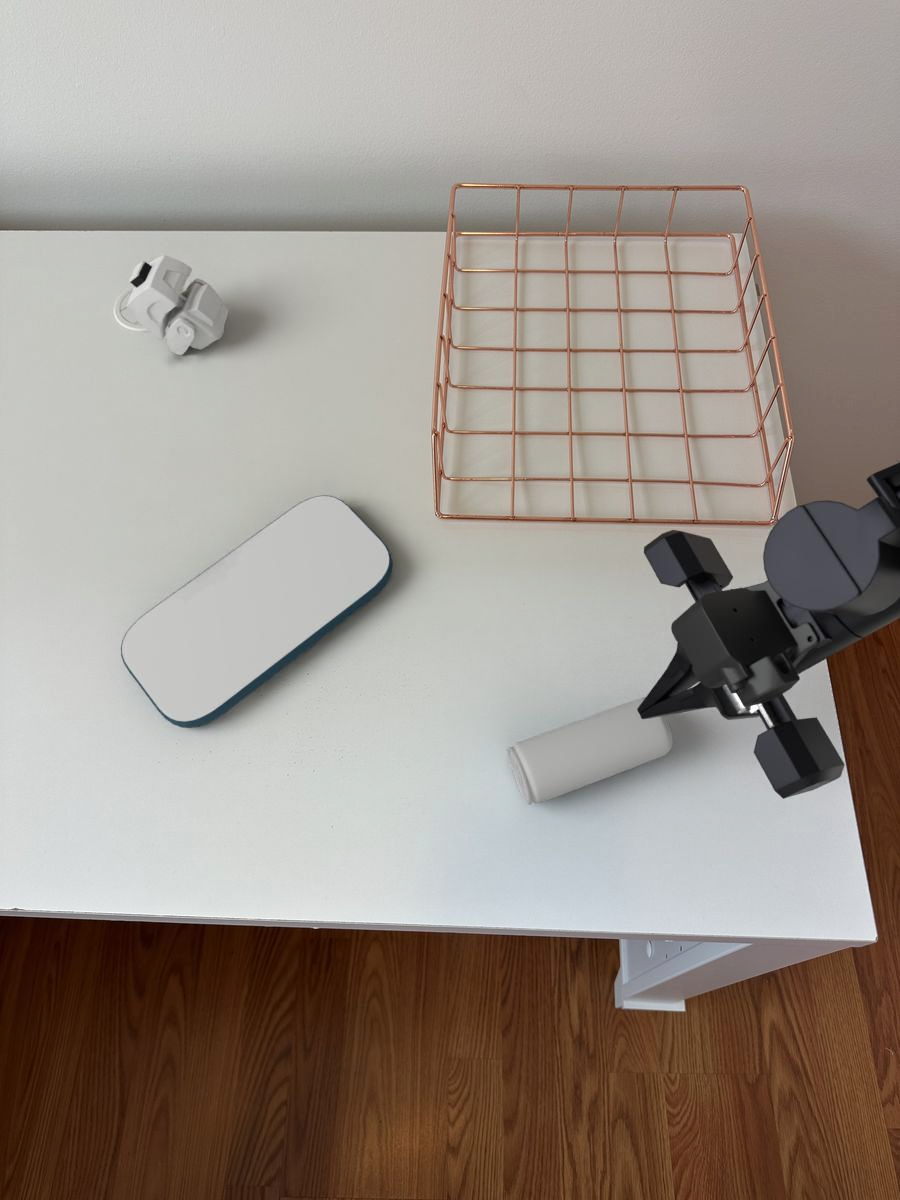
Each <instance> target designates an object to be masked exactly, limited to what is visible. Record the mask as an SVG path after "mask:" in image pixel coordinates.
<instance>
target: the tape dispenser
mask: <svg viewBox="0 0 900 1200" xmlns="http://www.w3.org/2000/svg"><path fill="white" fill-rule="evenodd" d="M192 271H193V269H192V267H191V266H189V265H188V264H187V263H184V262H183V261H181V260H178V259H176V258H174V257H171V256H169V255H167V254H166V255H165V254H164V255H161V256H158V257H156V258H154V259H152V261H150V262H149V263H148V262H146V261H145V260H142V261H141V262H140V263H138V264H136V265H135V267H134V269H133V271H132V273H131V275H130V278H129V280H128V282H129V283H130V284H132V285H133V286H134V287H133V289H132V291H131V294H130V296H129V299H128V301H127V304H126V308H127V310H129V312H130V313H131V314H132V316H133V317H134V318H135V320H136V321H138V323H139V324H140V325H141V326H142V327H143V328H144V329H145V330H146V331H148V332H149V333H150V334H151V335H152V336H154V337H155V338H156V339H158V340H161V341H163V340H164V338H165V336H166V344H167V346H168V348H169V351H170V352H171V353H173V354H176V355H178V356H183V355H184V354H185V353H186V351H188V349H189V348H190V347H191V348H193V349H196V350H204V349H205V348H207V347H208V346H210V345H211V344H213V343H214V342H215V341H218V340H220V339H221V338H222V337H223V335H224V333H225V325H226V324H225V323H226V320H227V318H228V316H229V313H230V312H229V309H228V307H227V305H226V304H225V303H224V302H223V300H222V298H221V296H220V295H219V294H218V293H217V292H216V290H215V289H214V288H213V287H212V285H210V284H209V283H208V282H206V281H205V280H203V279H200V278H195V279H193V280H192V281H191V282H190V283H189V284H188V286H187V287H186V289H185V290H184V291H183V289H184V287H185V284H186V282H187V280H188V277H190V275H191V273H192ZM182 291H183V292H182ZM167 328H168V330H167V332H166V329H167Z"/></svg>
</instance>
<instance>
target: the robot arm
mask: <svg viewBox="0 0 900 1200" xmlns="http://www.w3.org/2000/svg"><path fill="white" fill-rule="evenodd" d="M866 482H867V483H868V485H869V486H870V487H871V489H872V491H873V492H874V493H875V495H876V496H877V497H876V498H873V499H872V500H870V501H869V502H868V503H866V504H864V505H863V506H862V507H860V508H855V507H853V506H851V505H848V504H846V503H844V502H841V501H834V500H827V499H826V500H816V501H815V500H814V501H812V502H808V503H805V504H802V505H796V506H794V507H793V508H791V509H790V510H788V511H787V512H786V513H784V515H782V516H781V517H780V518H779V519H778V520H777V521H776V522H775V524H774V525H773V527H772V528H771V529H770V531H769V533H768V536H767V538H766V541H765V543H764V549H763V555H762V560H763V561H762V562H763V570H764V573H765V576H766V581H763V582H760V583H757V584H753V585H749V586H746V587H745V586H744V587H737V588H732V589H726V588H727V587H728V586H729V585H730V584H731V582H732V580H733V579H734V576H733V574H732V572H731V570H730V569H729V567H728V565H727V564H726V562H725V561H724V559H723V557H722V555H721V554H720V552H719V550H718V549H717V547H716V545H715V544H714V542H713V540H712V539H711V538H710V537H706V536H702V535H698V534H695V533H691V532H687V531H683V530H678V529H677V530H676V529H671V530H668V531H666V532H662V533H661V534H660V535H658V536H657V537H655V538H654V539H653V540H652V541H650V542H649V543H648V544H646V545H644V546H643V555H644V556H645V557H646V559H647V561H648V563H649V565H650V566H651V569H652V570H653V572H654V574H655V575H656V578H657V580H658V581H659V583H660V584H661V585H666V586H670V587H674V588H682V586H684V585H685V587H686V588H687V590H688V592H689V593H690V596H691V597H692V598H693V600H694V603H693V604H691V606H689V607H688V608H687V609H686V610H685V611H684V612H682V614H680V615H679V616H678V617H677V618H676V619H675V620H674V621H673V622H672V623H671V626H670V629H671V633H672V635H673V638H674V639H675V641H676V650H675V653H674V655H673V657H672V658H671V661H670V662H669V664H668V666H667V667H666V669H665V670H664V672H663V673H662V675H661V676H660V678H658V680H657V681H656V683H655V684H654V685H653V687H652V688H651V689H650V691H649V692H648V694H647V695H646V696H645V699H644V700H643V702H642V703H641V704H640V706H639V707H638V709H637V711H638V713H639V714H640V717H641V719H650V718H655V717H661V716H666V717H667V716H671V715H677V714H682V713H686V712H692V711H697V710H703V709H709V708H716V709H717V710H718V712H719V714H720V715H721V717H723V719H725V720H727V721H733V720H744V719H752V718H753V719H754V718H758V717H759V718H760V719H761V721H762V723H763V725H764V726H765V728H766V730H765V731H763V732H761V733H759V734H758V735H757V737H756V741H755V745H754V748H753V754H754V756H755V757H756V759H757V762H758V763H759V765H760V767H761V769H762V771H763V772H764V774H765V776H766V778H767V780H768V781H769V784H770V785H771V787H772V789H773V790H774V792H775V793H776V794H777V795H778V796H779V797H781V798H782V799H787V798H791V797H794V796H797V795H801V794H804V793H807V792H808V793H809V792H811V791H815V790H817V789H820V788H821V787H824V786H825V785H827V784H830V783H831V782H833V781H836V780H837V779H840V778H841V777H842V774H843V771H844V769H845V765H846V764H845V762H844V761H843V759H842V757H841V756H840V754H839V752H838V751H837V749H836V747H835V746H834V744H833V742H832V741H831V738H830V737H829V735H828V734H827V732H826V730H825V729H824V727H823V725H822V724H821V722H820V720H819V719H818V717H817V716H816V717H815V716H814V717H806V718H797V716H796V715H795V713H794V710H793V709H792V707H791V706H790V704H789V702H788V701H787V699H786V697H785V696H784V694H785V693H787V692H788V691H790V690H791V689H792V688H793V687H795V685H796V684H797V683H798V682H799V681H800V680H801V677H800V674H802V673H803V672H805V671H807V670H809V669H811V668H812V667H814V666H816V665H817V664H820V663H821V662H823V661H825V660H826V659H828V658H830V657H831V656H834V655H835V654H837V653H839V652H840V651H842V650H845V649H846V648H848V647H850V646H852V645H853V644H856V643H857V642H859V641H860V640H862V639H864V638H866V637H868V636H870V635H872V634H873V633H875V632H877V631H878V630H880V629H882V628H884V627H886V626H888V625H889V624H891V623H893V622H894V621H896V620H898V619H900V462H897V463H895V464H893V465H891V466H887V467H886V468H884V469H880V470H878V471H876V472H874V473H873V474H871V475H869V476H868V477H867V478H866ZM723 589H725V590H723Z"/></svg>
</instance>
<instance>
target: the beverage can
mask: <svg viewBox="0 0 900 1200" xmlns="http://www.w3.org/2000/svg"><path fill="white" fill-rule="evenodd" d="M645 698H646V696H643V697H639V698H637V699H634V700H631V701H628V702H626V703H624V704H623V703H622V704H621V705H618V706H614V707H612V708H609V709H607V710H604V711H601V712H598V713H595V714H593V715H590V716H586V717H584V718H581V719H579V720H576V721H574V722H569V723H568V724H564V725H562V726H560V727H556V728H553V729H551V730H549V731H546V732H543V733H540V734H538V735H534V736H532V737H529V738H526V739H524V740H521V741H518V742H515V743H514V744H513V747H511V746H510V747H507V748H506V753H507V757H508V761H509V765H510V769H511V772H512V774H513V777H514V780H515V783H516V785H517V787H518V789H519V792H520V794H521V796H522V798H523V800H524V802H525V803H526V804H527V805H532V804H533V803H535V804H539V803H543V802H545V801H548V800H551V799H554V798H556V797H559V796H562V795H565V794H567V793H570V792H573V791H575V790H578V789H580V788H584V787H587V786H589V785H591V784H595V783H596V782H599V781H602V780H604V779H607V778H610V777H613V776H615V775H618V774H620V773H623V772H626V771H628V770H631V769H633V768H636V767H638V766H642V765H644V764H646V763H648V762H651V761H654V760H656V759H659V758H662V757H665V756H667V754H669V752H670V751H671V748H672V747H673V743H674V742H673V732H672V729H671V726H670V722H669V721H668V718H667V715H666V716H661V717H655V718H650V719H641V717H640V714H639V713H638V711H637V709H638V707H639V706H640V704H641V703H642V702H643V700H644V699H645Z"/></svg>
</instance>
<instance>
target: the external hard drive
mask: <svg viewBox="0 0 900 1200" xmlns="http://www.w3.org/2000/svg"><path fill="white" fill-rule="evenodd" d="M393 567H394V562H393V557H392V554H391V551H390V550H389V548H388V546H387V545H386V544H385V543H384V541H383V540H382V539H381V537H379V535H377V533H375V531H374V530H372V528H371V527H370V526H369V525H368V524H367V523H366V522H365V521H364V520H363V518H361V517H360V516H359V514H358V513H356V512H355V511H354V510H353V509H352V508H351V507H350V506H349V505H348V504H347V503H346V502H345V501H344V500H342V499H340V498H338V497H336V496H333V495H324V494H323V495H322V494H321V495H316V496H313V497H309V498H307V499H305V500H303V501H301V502H299V503H297V504H296V505H294V506H293V507H292V508H289V509H288V510H287V511H286V512H284V513H283V514H281V515H280V516H279V517H276V519H275V520H273V521H271V522H270V523H269V524H267V525H266V526H265V527H263V528H262V529H261V530H259V531H258V532H256V533H255V534H253V535H252V536H251V537H250V538H248V539H246V540H245V541H244V542H242V543H241V544H239V545H238V546H237V547H236V548H234V549H233V550H231V551H230V552H228V553H227V554H226V555H225V556H223V557H222V558H220V559H219V560H217V561H216V562H214V563H213V564H211V565H210V566H209V567H208V568H206V569H205V570H203V571H202V572H201V573H199V574H198V575H196V576H195V577H194V578H192V579H191V580H189V581H188V582H186V583H185V584H184V585H183V586H181V587H180V588H178V589H177V590H176V591H174V592H172V593H171V594H170V595H169V596H167V597H166V598H165V599H162V601H160V602H159V603H157V604H156V605H155V606H153V607H152V608H150V609H149V610H147V612H145V613H143V615H141V616H140V617H139V618H138V619H137V620H135V622H134V623H132V624H131V626H130V627H128V629H127V631H126V632H125V634H124V636H123V638H122V641H121V645H120V656H121V659H122V662H123V665H124V666H125V668H126V669H127V671H128V672H129V674H130V676H132V678H133V679H134V681H135V682H136V683H137V684H138V686H139V688H140V689H141V690H142V691H143V693H144V694H145V695H146V697H147V698H148V699H149V701H150V702H151V703H152V705H153V706H154V707H155V709H156V710H157V711H158V713H159V714H161V716H162V717H163V718H164V719H165V720H166V721H167V722H169V723H171V724H172V725H173V726H177V727H179V728H182V729H193V728H200V727H202V726H205V725H208V724H210V723H212V722H214V721H215V720H217V719H218V718H220V717H222V716H224V714H226V713H228V712H229V711H230V710H231V709H233V707H235V706H236V705H238V704H239V703H240V702H241V701H242V700H244V699H245V698H246V697H248V696H249V695H251V694H252V693H253V692H255V690H257V689H258V688H260V687H261V686H262V685H263V684H265V683H266V682H268V681H269V680H270V679H271V678H272V677H274V676H276V674H278V673H279V672H280V671H281V670H282V669H284V668H285V667H287V666H288V665H289V664H291V663H292V662H293V661H295V660H296V659H297V658H298V657H299V656H301V655H302V654H303V653H304V652H306V651H307V650H308V649H310V648H311V647H312V646H313V645H316V643H317V642H319V641H320V640H322V639H323V638H324V637H325V636H327V635H328V634H329V633H330V632H332V631H333V630H335V628H337V627H339V626H340V624H342V623H344V622H345V621H346V620H347V619H348V618H350V617H351V616H352V615H353V614H355V613H356V612H358V611H359V610H360V609H361V608H362V607H364V606H365V605H367V604H368V603H369V602H370V601H371V600H373V599H374V598H375V597H376V596H378V595H379V594H380V592H381V591H382V590H384V588H385V587H386V586H387V584H388V582H389V581H390V580H391V576H392V573H393V569H394V568H393Z"/></svg>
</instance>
